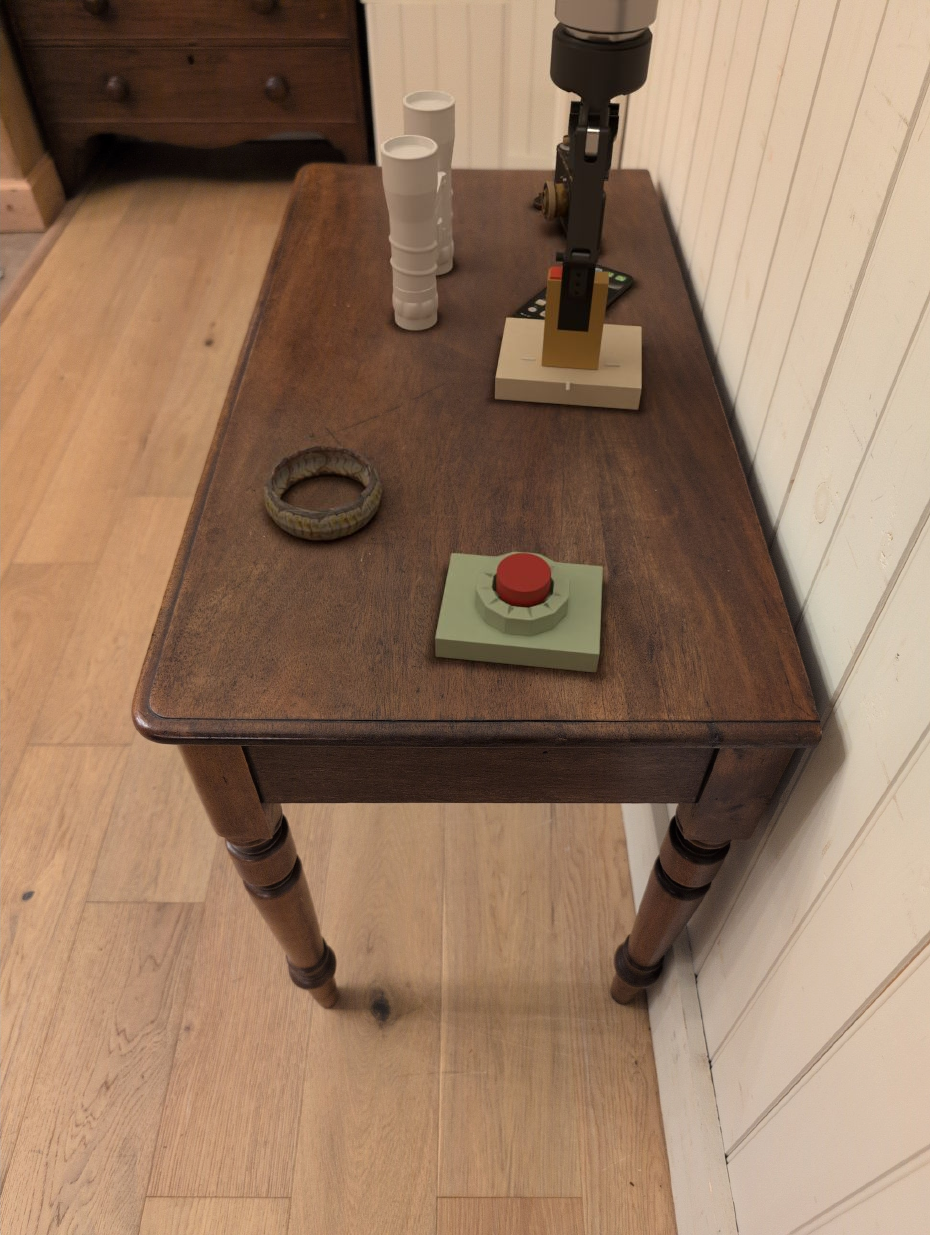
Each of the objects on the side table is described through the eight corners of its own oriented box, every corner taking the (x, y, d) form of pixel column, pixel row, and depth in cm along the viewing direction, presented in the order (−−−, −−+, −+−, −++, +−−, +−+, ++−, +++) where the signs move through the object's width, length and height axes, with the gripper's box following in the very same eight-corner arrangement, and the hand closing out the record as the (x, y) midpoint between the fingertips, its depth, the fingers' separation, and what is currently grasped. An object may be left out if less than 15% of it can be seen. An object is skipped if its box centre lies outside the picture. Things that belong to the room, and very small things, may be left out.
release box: (599, 585, 74) (605, 549, 71) (596, 673, 68) (602, 638, 65) (451, 571, 75) (451, 535, 72) (435, 657, 69) (434, 621, 66)
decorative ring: (391, 473, 83) (283, 464, 84) (389, 444, 80) (278, 435, 81) (371, 551, 76) (253, 541, 77) (367, 522, 74) (246, 512, 75)
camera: (528, 197, 120) (532, 132, 114) (579, 195, 120) (585, 130, 114) (551, 259, 109) (556, 191, 103) (606, 256, 109) (614, 188, 103)
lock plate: (638, 347, 96) (641, 324, 94) (638, 418, 88) (642, 395, 86) (505, 338, 98) (506, 315, 96) (493, 407, 89) (493, 384, 87)
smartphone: (636, 277, 105) (571, 335, 96) (636, 282, 105) (570, 340, 97) (580, 258, 108) (511, 313, 99) (579, 264, 108) (511, 319, 100)
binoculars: (436, 334, 98) (432, 159, 85) (386, 330, 99) (374, 156, 85) (459, 256, 109) (458, 91, 96) (414, 253, 110) (407, 88, 96)
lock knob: (598, 357, 91) (609, 269, 84) (597, 370, 89) (609, 281, 82) (542, 353, 91) (549, 265, 84) (541, 366, 90) (547, 277, 83)
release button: (551, 571, 70) (552, 555, 68) (547, 610, 67) (549, 594, 66) (498, 566, 70) (499, 550, 69) (493, 605, 67) (493, 588, 66)
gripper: (562, -26, 77) (545, 222, 93) (541, 83, 61) (524, 362, 77) (652, -22, 76) (619, 227, 92) (655, 89, 60) (614, 368, 76)
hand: (576, 289), depth 85 cm, fingers open, 13 cm apart
